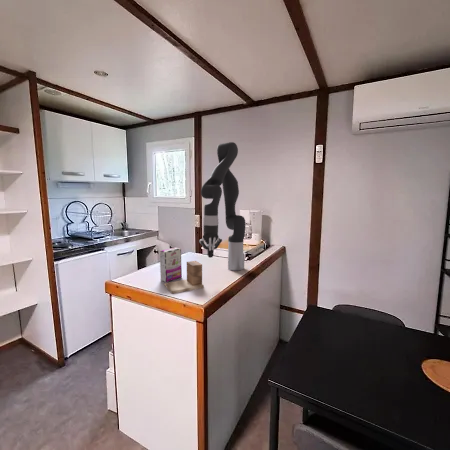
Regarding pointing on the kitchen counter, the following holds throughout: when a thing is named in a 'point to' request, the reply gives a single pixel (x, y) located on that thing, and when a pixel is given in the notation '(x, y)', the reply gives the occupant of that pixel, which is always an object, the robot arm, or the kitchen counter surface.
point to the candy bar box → (170, 264)
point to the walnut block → (194, 273)
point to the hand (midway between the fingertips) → (210, 257)
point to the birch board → (181, 286)
